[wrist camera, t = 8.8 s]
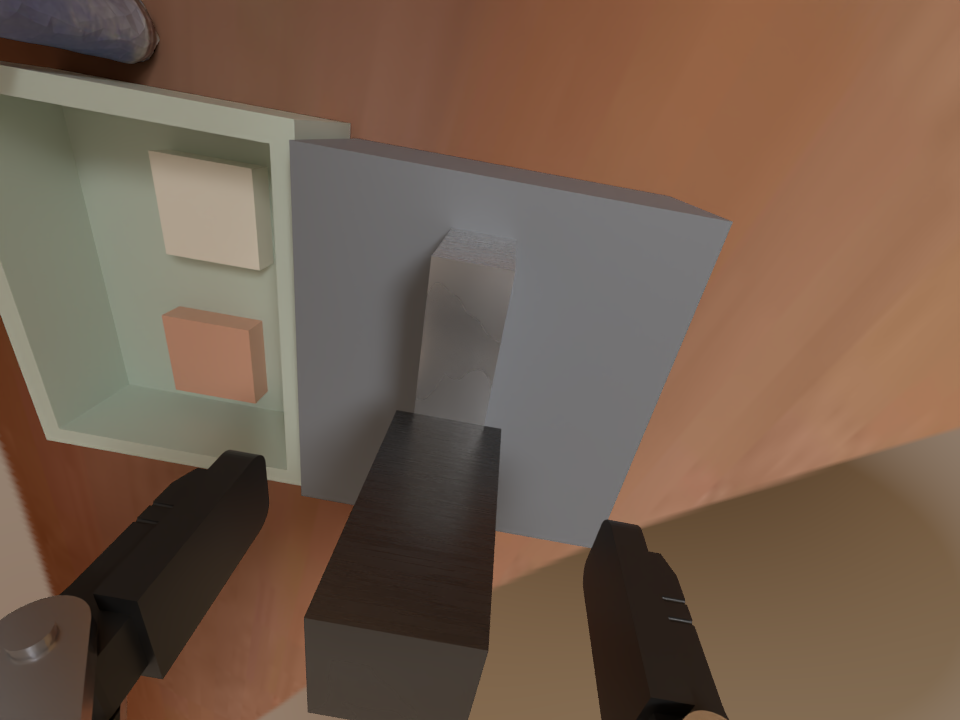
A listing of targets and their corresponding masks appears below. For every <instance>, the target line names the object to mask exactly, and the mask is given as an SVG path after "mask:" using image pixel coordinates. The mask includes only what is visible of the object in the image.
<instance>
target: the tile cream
mask: <svg viewBox="0 0 960 720" xmlns="http://www.w3.org/2000/svg"><path fill="white" fill-rule="evenodd" d="M148 153H149V159H150V164H151V170H152V176H153V181H154V187H155V193H156V198H157V204H158V210H159V215H160V221H161V227H162V232H163V238H164V244H165V249H166V254H169V255H175V256H180V257H186V258H191V259H197V260H203V261H208V262H214V263H220V264H225V265H231V266H237V267H242V268H248V269H254V270H259V271H260V270H262V269H264V268H266V267H267V266H269V265H271V264H273V263H274V259H273V243H272V227H271V211H270V195H269V179H268V167H266V166H260V165H255V164H249V163H243V162H238V161H232V160H227V159H221V158H215V157H210V156H204V155H198V154H193V153H187V152H181V151H176V150H148Z"/></svg>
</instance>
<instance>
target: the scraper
mask: <svg viewBox="0 0 960 720" xmlns="http://www.w3.org/2000/svg"><path fill="white" fill-rule="evenodd" d="M515 267H516V240H514V239H509V238H503V237H498V236H492V235H487V234H481V233H476V232H470V231H465V230H459V229H454V228H451V230H450V231H449V232H448V234H447V235H446V237H445V238H444V239H443V241H442V242H441V244H440V245H439V246H438V248H437V249H436V250H435V252H434V253H433V255H432V256H431V264H430V273H429V282H428V291H427V300H426V309H425V319H424V328H423V337H422V346H421V355H420V364H419V373H418V382H417V391H416V400H415V409H414V413H411V412H405V411H399V410H396V412H395V415H394V417H393V419H392V421H391V424H390V426H389V428H388V430H387V433H386V435H385V437H384V439H383V442H382V444H381V446H380V448H379V451H378V453H377V455H376V457H375V460H374V462H373V464H372V466H371V469H370V471H369V473H368V475H367V477H366V480H365V482H364V484H363V486H362V489H361V491H360V493H359V495H358V498H357V500H356V502H355V504H354V507H353V509H352V511H351V513H350V516H349V518H348V520H347V522H346V525H345V527H344V529H343V531H342V534H341V536H340V538H339V540H338V543H337V545H336V547H335V549H334V552H333V554H332V556H331V558H330V560H329V563H328V565H327V567H326V569H325V572H324V574H323V576H322V578H321V581H320V583H319V585H318V587H317V590H316V592H315V594H314V596H313V599H312V601H311V603H310V605H309V608H308V610H307V612H306V614H305V617H304V632H305V656H306V679H307V702H308V712H309V713H315V714H320V715H326V716H332V717H337V718H343V719H349V720H468V717H469V714H470V711H471V708H472V704H473V701H474V697H475V694H476V690H477V687H478V684H479V680H480V677H481V674H482V670H483V667H484V664H485V660H486V657H487V653H488V645H489V630H490V613H491V597H492V596H491V595H492V580H493V563H494V546H495V529H496V513H497V496H498V479H499V462H500V445H501V429H500V428H494V427H488V426H484V423H485V418H486V413H487V409H488V404H489V399H490V394H491V389H492V384H493V379H494V374H495V369H496V364H497V359H498V354H499V349H500V345H501V340H502V335H503V330H504V325H505V320H506V315H507V310H508V305H509V300H510V295H511V290H512V285H513V281H514V276H515Z"/></svg>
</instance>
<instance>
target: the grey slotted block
mask: <svg viewBox="0 0 960 720" xmlns="http://www.w3.org/2000/svg"><path fill="white" fill-rule="evenodd" d="M289 149H290V178H291V207H292V236H293V265H294V294H295V323H296V352H297V381H298V410H299V439H300V468H301V496H307V497H312V498H318V499H323V500H329V501H334V502H340V503H345V504H351V505H354V504H355V502H356V500H357V498H358V495H359V493H360V491H361V489H362V486H363V484H364V482H365V480H366V477H367V475H368V473H369V471H370V469H371V466H372V464H373V462H374V460H375V457H376V455H377V453H378V451H379V448H380V446H381V444H382V442H383V439H384V437H385V435H386V433H387V430H388V428H389V426H390V424H391V421H392V419H393V417H394V415H395V412H396V410H399V411H405V412H411V413H414V409H415V400H416V391H417V382H418V373H419V364H420V355H421V346H422V337H423V328H424V319H425V309H426V300H427V291H428V282H429V273H430V264H431V256H432V255H433V253H434V252H435V250H436V249H437V248H438V246H439V245H440V244H441V242H442V241H443V239H444V238H445V237H446V235H447V234H448V232H449V231H450V230H451V228H454V229H459V230H465V231H470V232H476V233H481V234H487V235H492V236H498V237H503V238H509V239H514V240H516V267H515V276H514V281H513V285H512V290H511V295H510V300H509V305H508V310H507V315H506V320H505V325H504V330H503V335H502V340H501V345H500V349H499V354H498V359H497V364H496V369H495V374H494V379H493V384H492V389H491V394H490V399H489V404H488V409H487V413H486V418H485V423H484V426H488V427H494V428H500V429H501V445H500V462H499V479H498V496H497V513H496V529H495V531H500V532H505V533H511V534H516V535H522V536H527V537H533V538H538V539H544V540H550V541H555V542H561V543H566V544H572V545H577V546H583V547H588V548H592V546H593V543H594V541H595V539H596V536H597V534H598V531H599V529H600V527H601V524H602V522H603V521H604V520H608V518H609V515H610V513H611V511H612V508H613V506H614V504H615V501H616V499H617V496H618V494H619V492H620V489H621V487H622V484H623V482H624V480H625V477H626V475H627V473H628V470H629V468H630V465H631V463H632V461H633V458H634V456H635V454H636V451H637V449H638V446H639V444H640V442H641V439H642V437H643V434H644V432H645V430H646V427H647V425H648V423H649V420H650V418H651V415H652V413H653V411H654V408H655V406H656V404H657V401H658V399H659V396H660V394H661V392H662V389H663V387H664V384H665V382H666V380H667V377H668V375H669V373H670V370H671V368H672V365H673V363H674V361H675V358H676V356H677V353H678V351H679V349H680V346H681V344H682V342H683V339H684V337H685V334H686V332H687V330H688V327H689V325H690V323H691V320H692V318H693V315H694V313H695V311H696V308H697V306H698V303H699V301H700V299H701V296H702V294H703V292H704V289H705V287H706V284H707V282H708V280H709V277H710V275H711V273H712V270H713V268H714V265H715V263H716V261H717V258H718V256H719V253H720V251H721V249H722V246H723V244H724V242H725V239H726V237H727V234H728V232H729V230H730V227H731V225H732V221H729V220H727V219H724V218H722V217H719V216H717V215H714V214H712V213H709V212H707V211H704V210H702V209H700V208H697V207H695V206H692V205H690V204H687V203H685V202H682V201H680V200H677V199H675V198H672V197H670V196H665V195H659V194H654V193H649V192H643V191H638V190H632V189H627V188H622V187H616V186H611V185H605V184H600V183H595V182H589V181H584V180H578V179H573V178H568V177H562V176H557V175H551V174H546V173H541V172H535V171H530V170H524V169H519V168H514V167H508V166H503V165H497V164H492V163H487V162H481V161H476V160H471V159H465V158H460V157H454V156H449V155H444V154H438V153H433V152H427V151H422V150H417V149H411V148H406V147H400V146H395V145H390V144H384V143H379V142H373V141H368V140H363V139H304V140H289Z"/></svg>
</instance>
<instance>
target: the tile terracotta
mask: <svg viewBox="0 0 960 720" xmlns="http://www.w3.org/2000/svg"><path fill="white" fill-rule="evenodd" d="M162 320H163V326H164V331H165V336H166V341H167V346H168V351H169V356H170V362H171V367H172V372H173V377H174V382H175V387H176V390H181V391H186V392H192V393H198V394H203V395H209V396H215V397H220V398H226V399H232V400H237V401H243V402H249V403H254V404H256V403H257V402H258V401H259V400H260V399H261V398H262V397H263V396H264V395H265V394H266V393H267V392H268V387H267V374H266V362H265V349H264V336H263V324H262V321H261V320H255V319H250V318H244V317H238V316H233V315H227V314H221V313H216V312H210V311H204V310H199V309H193V308H187V307H182V306H179V307H177V308H175V309H173V310H171V311H169V312H167V313H165V314H163V315H162Z"/></svg>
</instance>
